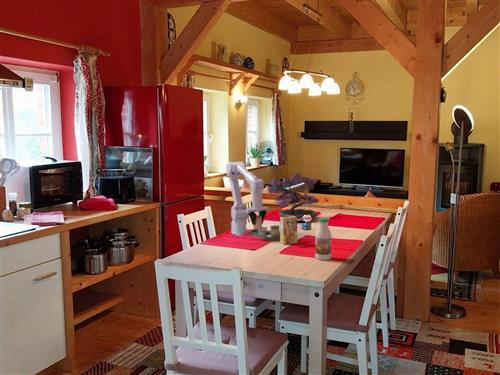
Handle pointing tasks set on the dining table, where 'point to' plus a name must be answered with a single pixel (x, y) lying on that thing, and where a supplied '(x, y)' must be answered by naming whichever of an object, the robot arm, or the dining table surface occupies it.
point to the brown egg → (274, 230)
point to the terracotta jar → (258, 222)
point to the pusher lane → (266, 237)
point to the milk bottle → (323, 240)
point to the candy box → (288, 230)
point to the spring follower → (262, 231)
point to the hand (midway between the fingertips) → (257, 224)
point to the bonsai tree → (294, 196)
